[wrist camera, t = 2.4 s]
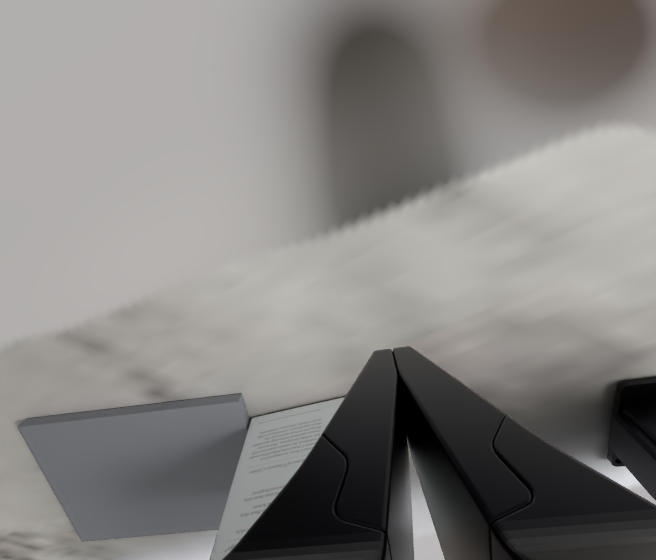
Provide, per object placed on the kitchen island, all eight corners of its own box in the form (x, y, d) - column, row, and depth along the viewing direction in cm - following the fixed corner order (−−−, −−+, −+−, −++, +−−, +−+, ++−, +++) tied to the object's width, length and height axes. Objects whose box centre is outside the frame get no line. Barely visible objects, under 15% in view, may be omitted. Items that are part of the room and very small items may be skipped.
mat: (241, 393, 24) (238, 401, 24) (276, 514, 28) (274, 524, 27) (26, 418, 26) (17, 427, 25) (88, 531, 29) (81, 541, 29)
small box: (280, 484, 27) (233, 767, 15) (249, 415, 25) (166, 679, 13) (390, 462, 26) (437, 746, 14) (368, 389, 24) (400, 648, 12)
